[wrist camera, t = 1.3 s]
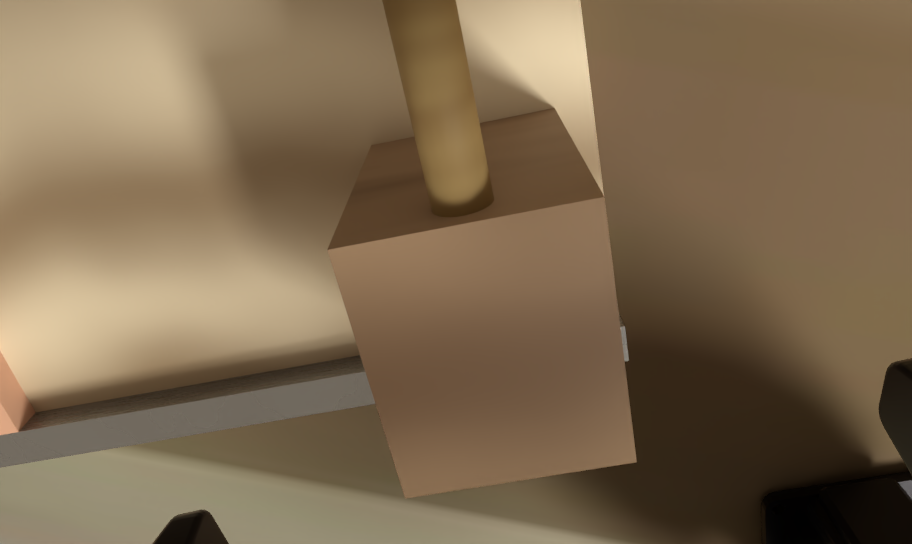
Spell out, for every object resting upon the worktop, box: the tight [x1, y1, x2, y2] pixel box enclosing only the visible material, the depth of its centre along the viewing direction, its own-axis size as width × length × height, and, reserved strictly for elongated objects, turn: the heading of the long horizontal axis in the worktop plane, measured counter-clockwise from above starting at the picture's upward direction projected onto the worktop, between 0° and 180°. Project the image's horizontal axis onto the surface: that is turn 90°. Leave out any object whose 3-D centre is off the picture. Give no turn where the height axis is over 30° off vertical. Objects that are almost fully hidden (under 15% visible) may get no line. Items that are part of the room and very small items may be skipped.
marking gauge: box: [327, 0, 637, 498], centre depth 16 cm, size 10×5×7 cm, turn 12°
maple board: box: [0, 0, 604, 412], centre depth 21 cm, size 14×22×2 cm, turn 102°
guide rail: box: [0, 311, 629, 467], centre depth 22 cm, size 1×22×1 cm, turn 102°
